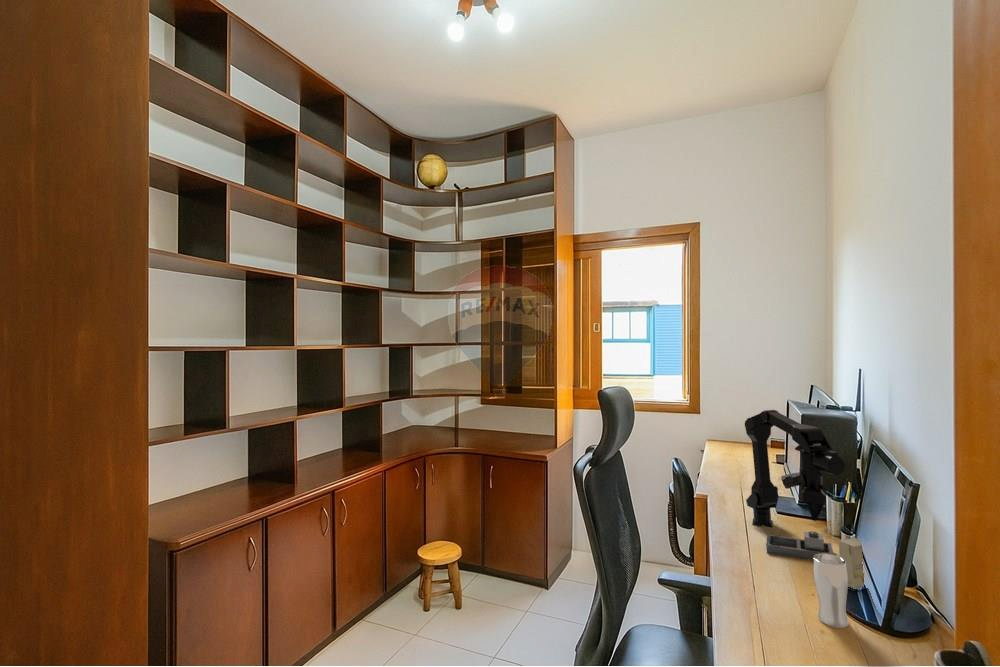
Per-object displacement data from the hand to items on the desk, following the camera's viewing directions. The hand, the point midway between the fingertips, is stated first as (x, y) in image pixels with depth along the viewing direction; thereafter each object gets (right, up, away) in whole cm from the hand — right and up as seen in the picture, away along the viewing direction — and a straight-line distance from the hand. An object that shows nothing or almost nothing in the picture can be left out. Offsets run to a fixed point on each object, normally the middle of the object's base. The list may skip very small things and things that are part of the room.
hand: (813, 515), depth 153 cm
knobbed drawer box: (-1, -12, -1) cm, 12 cm away
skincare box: (-2, -12, -21) cm, 24 cm away
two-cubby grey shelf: (-4, -12, +1) cm, 13 cm away
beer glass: (-19, -12, -37) cm, 43 cm away
